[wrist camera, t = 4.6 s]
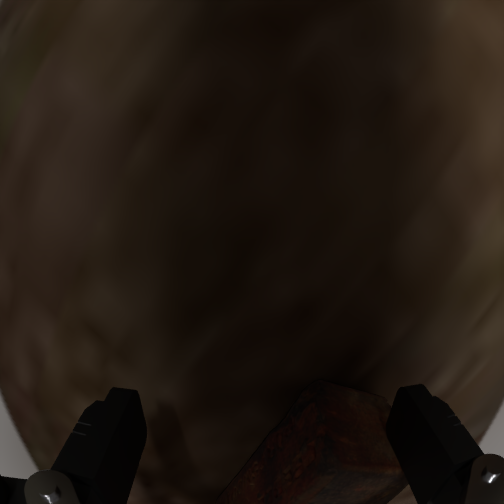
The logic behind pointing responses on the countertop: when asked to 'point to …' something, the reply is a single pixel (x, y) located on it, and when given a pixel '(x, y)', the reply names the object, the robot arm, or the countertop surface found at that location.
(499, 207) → the countertop surface
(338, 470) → the brick
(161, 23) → the countertop surface
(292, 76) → the countertop surface
